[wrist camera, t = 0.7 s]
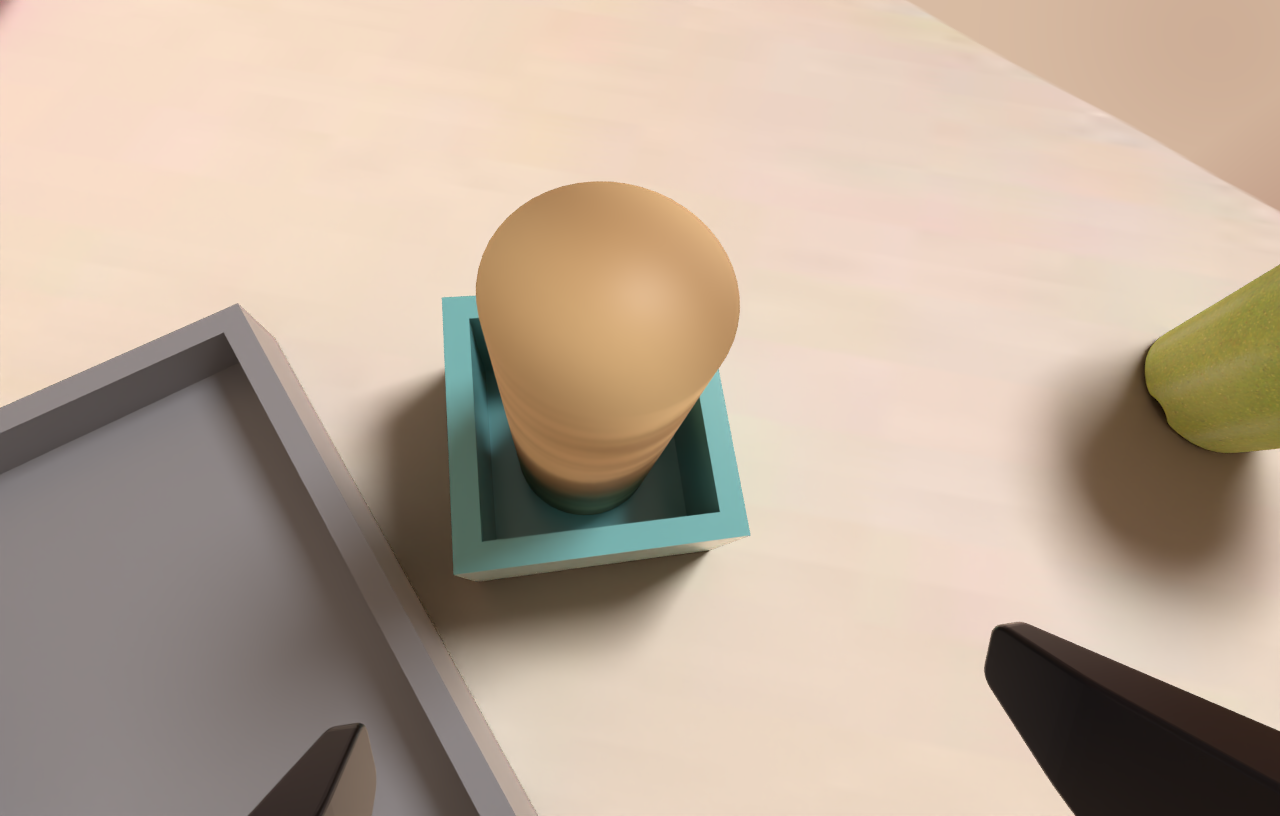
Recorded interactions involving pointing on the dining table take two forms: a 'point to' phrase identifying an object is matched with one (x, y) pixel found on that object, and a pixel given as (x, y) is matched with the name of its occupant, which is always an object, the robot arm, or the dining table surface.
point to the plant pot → (1224, 371)
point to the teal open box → (552, 539)
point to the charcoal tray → (210, 599)
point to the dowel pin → (602, 334)
